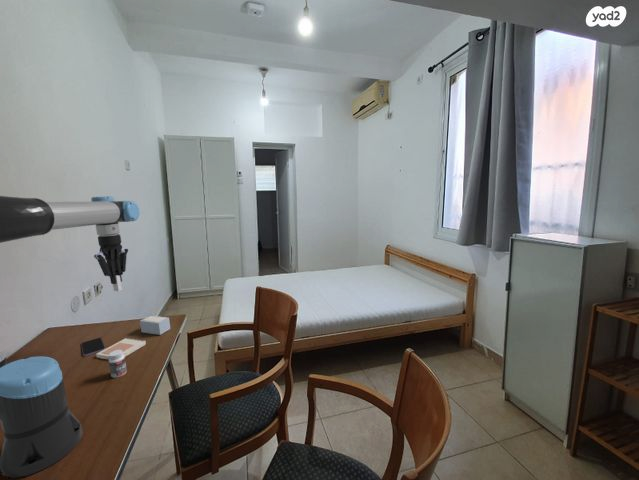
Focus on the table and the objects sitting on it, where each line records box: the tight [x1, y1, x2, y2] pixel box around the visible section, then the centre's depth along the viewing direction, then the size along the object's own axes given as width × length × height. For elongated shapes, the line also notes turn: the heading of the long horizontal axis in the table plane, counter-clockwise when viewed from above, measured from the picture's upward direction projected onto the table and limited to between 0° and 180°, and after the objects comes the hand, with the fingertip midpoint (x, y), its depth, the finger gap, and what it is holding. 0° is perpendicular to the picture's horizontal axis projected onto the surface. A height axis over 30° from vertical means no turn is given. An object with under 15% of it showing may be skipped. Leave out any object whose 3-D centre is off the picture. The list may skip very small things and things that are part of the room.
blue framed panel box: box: [139, 315, 171, 336], centre depth 136 cm, size 6×11×6 cm, turn 73°
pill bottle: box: [108, 350, 128, 379], centre depth 104 cm, size 5×5×8 cm
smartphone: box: [80, 337, 106, 357], centre depth 124 cm, size 7×1×15 cm
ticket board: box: [95, 337, 147, 361], centre depth 120 cm, size 13×11×2 cm
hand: (117, 290), depth 121 cm, fingers closed
